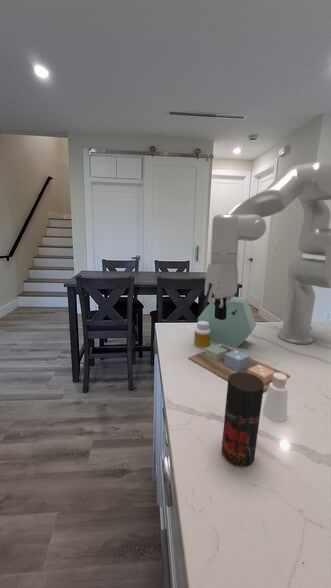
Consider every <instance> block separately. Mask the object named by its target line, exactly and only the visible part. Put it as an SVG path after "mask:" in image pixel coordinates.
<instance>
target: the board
mask: <svg viewBox="0 0 331 588" xmlns="http://www.w3.org/2000/svg"><path fill="white" fill-rule="evenodd" d="M219 346H220V347H222V348H224V349H226V350H228V351H227V353H229V352H231V351H234V350H235V349H233V348H229V346H228V347H227V346H226V345H223V344H221V345H219ZM204 352H205V351H202V352H200V353H196V354H193V355H191V356H188V358H187V359H188V360H189V361H191V362H192V363H195V364H197V365H198V366H199V367H202V368H203V369H205V370H207V371H209V372H210V373H212V374H214V375H216V376H218V377H219V378H221V379H223V380H225V381H226V382H228V378H229V376H230V375H231V374H233V373H238V372H236V371H234V370H232V369H230V368H228V367H226V366H224V359H225V358H224V359H221V360H219V361H215V360H213V359H211V358H209V357H207V356H205V355H204ZM258 364H259V365H261V366H264V367H266V368H268V369H270V370H272V371H275V373H282V374H284V375H286V376H287V379H289V378H290V375H289V374H288V373H286V372H283V371H281V370H280V369H279V370H278V369H276V368H274V367H272V366H270V365H268V364H265V363H262V361H258V360H257V359H254V358H252V357H250V359H249V368H247V369H245V370H243V371H241V373H247V372H248V369H250V368H252V367H254V366H256V365H258ZM272 382H273V381H272ZM270 383H271V382H270ZM270 383H268V384H267V385H265V386H264V389H263V394H264V393H267V391H268V387H269V384H270Z"/></svg>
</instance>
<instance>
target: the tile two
mask: <svg viewBox="0 0 331 588" xmlns="http://www.w3.org/2000/svg"><path fill="white" fill-rule="evenodd" d="M233 350H234V351H231V352H229V353H226V354H225V359H224V366H226V367H228V368H230V369H232V370H234V371H236V372H238V373H239V372H241V371H243V370H245V369H247V368H249V359H250V358H251V356H250V355H248V354H246V353H245V352H242V351H239V350H237V349H233Z"/></svg>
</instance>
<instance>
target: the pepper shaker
mask: <svg viewBox="0 0 331 588" xmlns="http://www.w3.org/2000/svg"><path fill="white" fill-rule="evenodd" d="M287 380H288V378H287V376H286V375H284V374H282V373H274V374H273V382H271V383H270V384H269V387H268V390H267V391H266V395H265V400H264V403H263V407H262V415H263V416H264V417H265V418H267V419H268V420H269V421H271V422H275V423H283V422H285V421H287V419H288V418H287V417H288V415H287V414H288V393H289V392H288V386H287V385H286V384H287Z"/></svg>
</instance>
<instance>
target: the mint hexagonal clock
mask: <svg viewBox="0 0 331 588" xmlns="http://www.w3.org/2000/svg"><path fill="white" fill-rule="evenodd" d="M208 303H209V304H208V305H206V307H205V308H204V310H202V312H201V313H200V315H199V316H198V317H197V322H198V321H206V322H208V323H209V329H210V331H211V333H210V343H215V344H220V345H223V346H226V347H227V346H228V347H232V348H236V349H237V348H238V347H239V346H240V345H241V344H242V343H243V342H244V341H245V340H246V339H247V338H248V337H249V336H251V334H252V333H253V332H254V330H255V329H256V326H257V324H256V320H255V317H254V314H253V311H252V308H251V304H250V301H249V299H248V298H245V297H238V296H234V298H232V299H230V301H229V304H228V306H227V311H226V319H225V320H219V319H216V318H215V306H214V304H213V303H210V302H208ZM233 313H234V314H233Z"/></svg>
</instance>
